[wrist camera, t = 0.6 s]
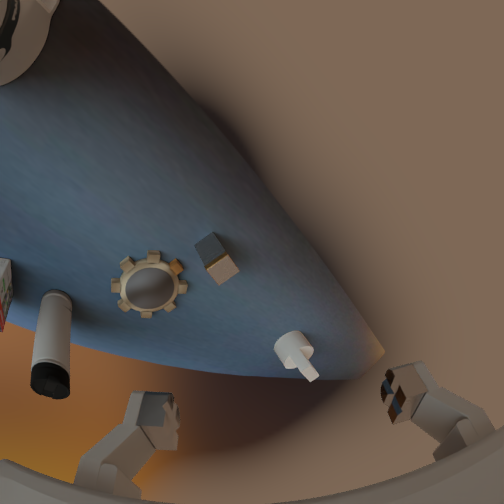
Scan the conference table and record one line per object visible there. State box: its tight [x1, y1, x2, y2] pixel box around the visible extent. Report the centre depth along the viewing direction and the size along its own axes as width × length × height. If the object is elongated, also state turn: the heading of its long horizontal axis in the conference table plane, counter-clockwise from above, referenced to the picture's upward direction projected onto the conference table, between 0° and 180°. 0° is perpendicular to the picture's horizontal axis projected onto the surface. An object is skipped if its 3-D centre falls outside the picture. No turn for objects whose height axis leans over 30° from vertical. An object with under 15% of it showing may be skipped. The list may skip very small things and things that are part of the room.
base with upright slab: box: [274, 331, 319, 382], centre depth 75 cm, size 9×9×12 cm
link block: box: [194, 232, 239, 285], centre depth 50 cm, size 4×4×8 cm
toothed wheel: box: [111, 250, 188, 318], centre depth 51 cm, size 14×14×2 cm
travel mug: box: [30, 290, 72, 399], centre depth 38 cm, size 6×7×20 cm
